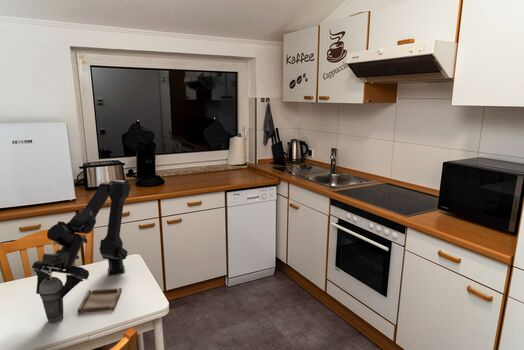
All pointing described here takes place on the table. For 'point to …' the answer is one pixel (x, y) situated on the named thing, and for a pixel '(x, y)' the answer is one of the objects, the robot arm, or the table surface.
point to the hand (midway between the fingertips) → (49, 295)
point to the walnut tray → (100, 300)
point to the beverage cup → (52, 298)
